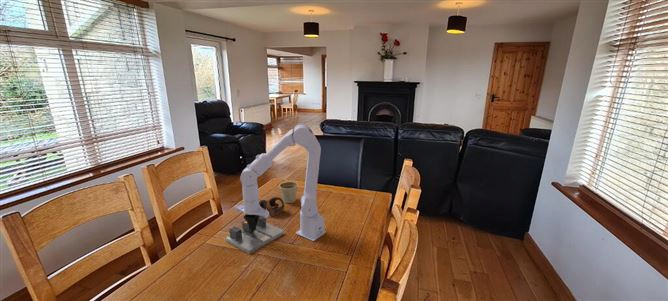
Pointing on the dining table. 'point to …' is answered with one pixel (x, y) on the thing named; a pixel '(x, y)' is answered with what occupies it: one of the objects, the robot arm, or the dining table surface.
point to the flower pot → (288, 191)
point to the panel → (254, 236)
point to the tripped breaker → (246, 226)
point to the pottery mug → (272, 205)
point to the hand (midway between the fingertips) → (253, 230)
